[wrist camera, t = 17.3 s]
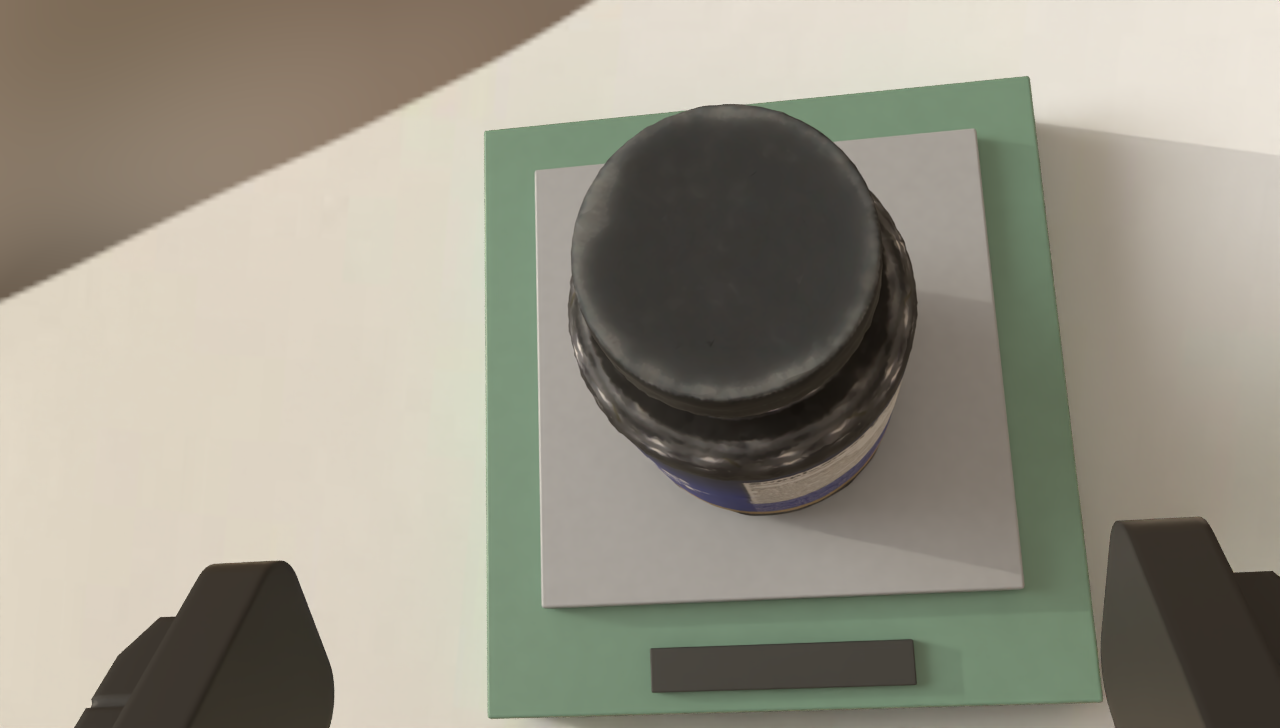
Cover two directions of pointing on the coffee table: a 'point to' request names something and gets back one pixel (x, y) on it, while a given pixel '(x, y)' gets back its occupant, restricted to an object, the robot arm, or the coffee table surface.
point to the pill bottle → (742, 307)
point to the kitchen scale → (829, 530)
